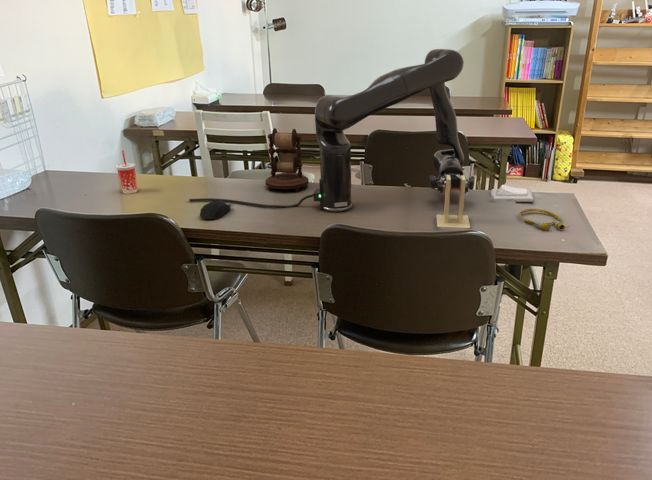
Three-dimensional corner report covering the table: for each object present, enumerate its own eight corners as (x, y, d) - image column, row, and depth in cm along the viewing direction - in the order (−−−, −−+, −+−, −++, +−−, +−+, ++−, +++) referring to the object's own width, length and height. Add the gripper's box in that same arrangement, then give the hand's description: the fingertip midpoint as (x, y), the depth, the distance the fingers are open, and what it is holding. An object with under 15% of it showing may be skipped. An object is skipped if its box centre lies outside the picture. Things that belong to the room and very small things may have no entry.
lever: (442, 191, 165) (442, 183, 165) (462, 192, 164) (463, 183, 164) (444, 187, 152) (444, 178, 152) (466, 187, 151) (467, 179, 151)
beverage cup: (135, 194, 186) (128, 152, 180) (117, 194, 186) (109, 152, 180) (142, 188, 191) (135, 148, 186) (124, 189, 192) (117, 148, 186)
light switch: (491, 181, 185) (531, 181, 182) (490, 193, 187) (530, 193, 184) (491, 191, 175) (534, 191, 173) (491, 203, 177) (533, 203, 174)
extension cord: (518, 229, 154) (518, 222, 154) (517, 211, 168) (518, 204, 167) (564, 233, 152) (565, 226, 151) (560, 214, 165) (561, 207, 165)
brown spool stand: (313, 181, 198) (310, 124, 189) (302, 194, 185) (299, 133, 176) (273, 180, 200) (269, 123, 192) (260, 192, 187) (255, 132, 179)
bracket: (436, 218, 163) (438, 172, 157) (467, 219, 162) (471, 172, 156) (437, 230, 154) (439, 182, 148) (470, 231, 153) (474, 182, 147)
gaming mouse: (239, 205, 174) (238, 193, 173) (214, 221, 161) (213, 208, 160) (221, 204, 176) (220, 191, 174) (195, 219, 163) (194, 206, 162)
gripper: (428, 161, 176) (429, 176, 161) (474, 162, 174) (479, 178, 159) (427, 184, 179) (427, 201, 164) (472, 185, 178) (477, 203, 163)
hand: (453, 189), depth 162 cm, fingers closed on lever, 6 cm apart
